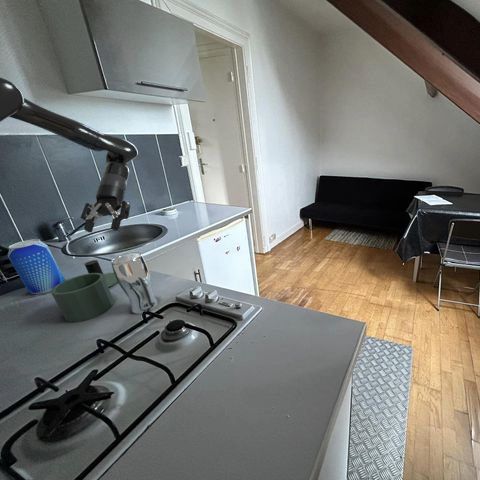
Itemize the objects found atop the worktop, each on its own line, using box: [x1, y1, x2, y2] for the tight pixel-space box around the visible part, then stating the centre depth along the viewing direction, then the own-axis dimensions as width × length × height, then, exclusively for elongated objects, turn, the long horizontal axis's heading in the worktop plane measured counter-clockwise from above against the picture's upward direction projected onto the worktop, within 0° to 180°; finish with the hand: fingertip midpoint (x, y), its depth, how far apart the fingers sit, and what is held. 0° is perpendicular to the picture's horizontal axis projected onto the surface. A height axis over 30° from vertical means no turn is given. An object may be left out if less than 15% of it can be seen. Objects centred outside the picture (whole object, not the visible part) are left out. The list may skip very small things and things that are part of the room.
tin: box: [50, 273, 115, 323], centre depth 70 cm, size 10×10×8 cm
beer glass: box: [110, 252, 159, 315], centre depth 68 cm, size 7×7×15 cm
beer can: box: [7, 238, 66, 297], centre depth 80 cm, size 8×8×16 cm
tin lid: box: [84, 259, 118, 288], centre depth 82 cm, size 11×11×8 cm
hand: (101, 230), depth 87 cm, fingers open, 8 cm apart
